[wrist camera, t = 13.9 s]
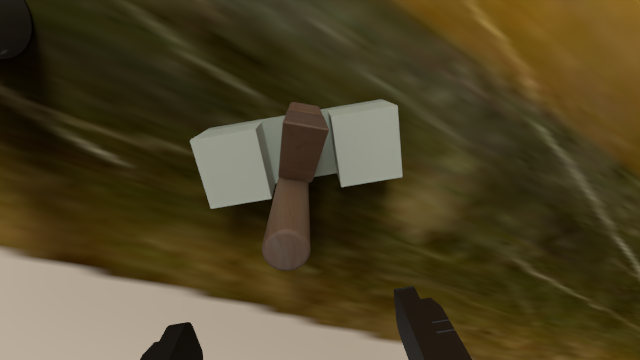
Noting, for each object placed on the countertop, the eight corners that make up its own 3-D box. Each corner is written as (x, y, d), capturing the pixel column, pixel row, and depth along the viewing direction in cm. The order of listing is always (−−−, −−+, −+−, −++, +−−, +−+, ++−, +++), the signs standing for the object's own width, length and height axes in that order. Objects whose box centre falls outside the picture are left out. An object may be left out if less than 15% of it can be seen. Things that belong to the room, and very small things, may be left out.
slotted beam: (209, 128, 39) (189, 140, 32) (381, 99, 39) (397, 105, 32) (225, 186, 42) (211, 208, 35) (386, 159, 41) (402, 177, 35)
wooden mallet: (320, 106, 37) (334, 138, 20) (306, 189, 40) (307, 277, 23) (289, 101, 36) (277, 129, 19) (277, 185, 40) (258, 271, 23)
